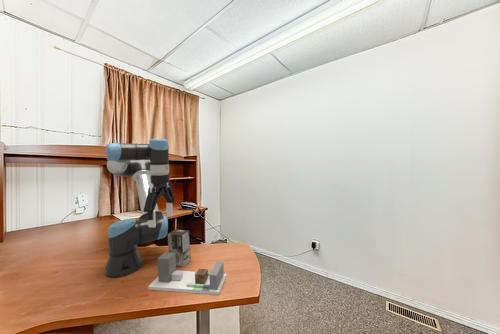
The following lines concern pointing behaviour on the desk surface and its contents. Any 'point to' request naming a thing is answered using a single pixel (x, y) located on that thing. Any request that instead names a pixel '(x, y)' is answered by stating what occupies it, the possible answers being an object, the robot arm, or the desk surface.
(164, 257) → the grey block
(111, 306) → the desk surface
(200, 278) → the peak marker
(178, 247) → the coffee box
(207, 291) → the board
